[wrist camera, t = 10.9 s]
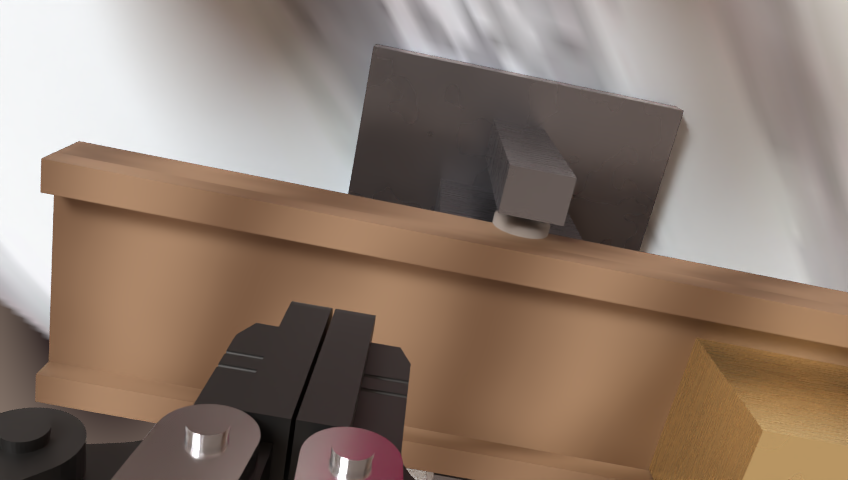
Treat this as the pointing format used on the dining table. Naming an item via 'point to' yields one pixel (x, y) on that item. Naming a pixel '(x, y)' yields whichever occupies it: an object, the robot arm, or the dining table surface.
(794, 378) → the block
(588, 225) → the pivot stand
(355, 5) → the dining table surface
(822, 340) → the balance beam
